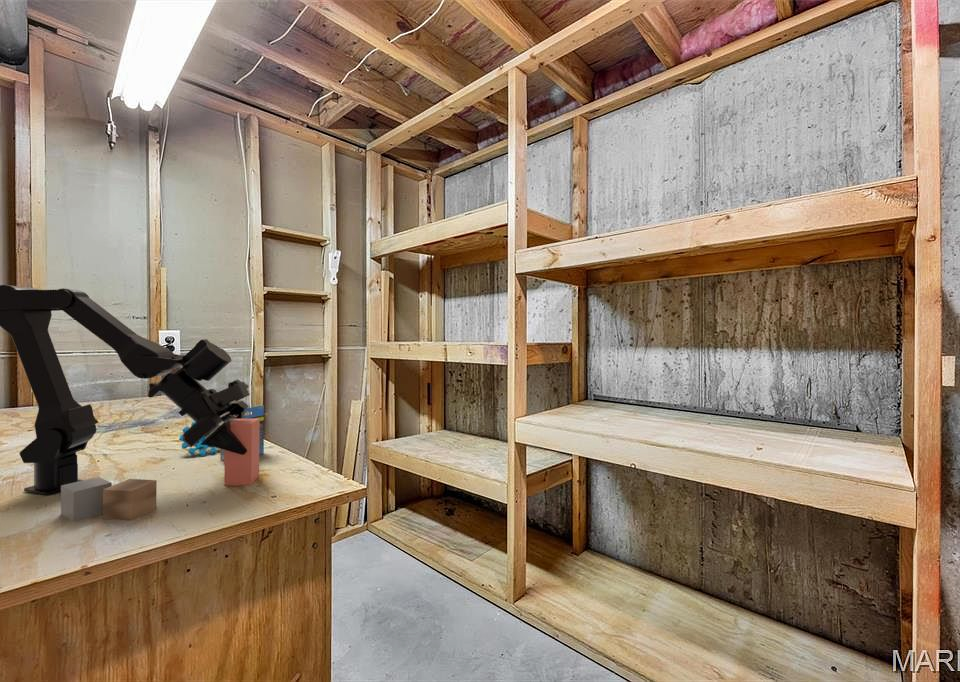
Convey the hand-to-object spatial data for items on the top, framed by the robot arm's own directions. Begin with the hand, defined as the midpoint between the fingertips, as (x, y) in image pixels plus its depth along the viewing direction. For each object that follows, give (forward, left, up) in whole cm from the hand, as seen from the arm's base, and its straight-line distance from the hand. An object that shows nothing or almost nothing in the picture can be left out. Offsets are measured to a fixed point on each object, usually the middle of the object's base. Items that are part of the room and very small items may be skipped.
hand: (249, 449), depth 89 cm
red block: (-1, -1, -7) cm, 7 cm away
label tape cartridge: (-13, +12, -7) cm, 19 cm away
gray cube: (-14, -21, -7) cm, 26 cm away
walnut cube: (-7, -19, -7) cm, 21 cm away
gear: (-25, +13, -7) cm, 29 cm away
